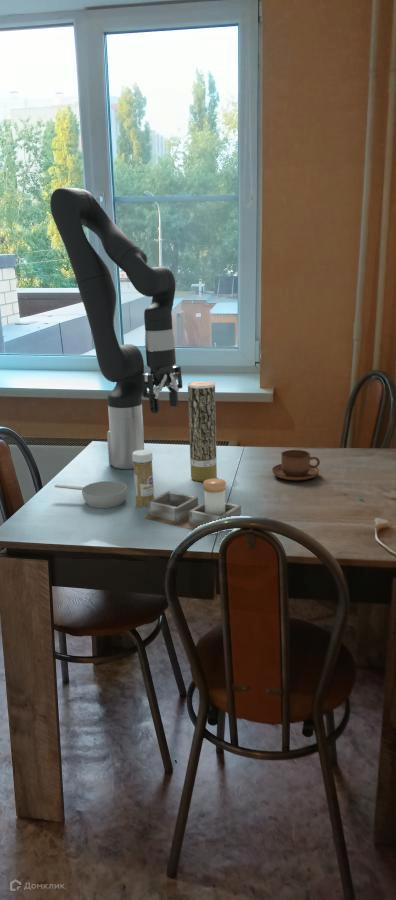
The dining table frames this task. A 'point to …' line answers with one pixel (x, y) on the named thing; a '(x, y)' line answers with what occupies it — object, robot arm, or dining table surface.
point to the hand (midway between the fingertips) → (164, 409)
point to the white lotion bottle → (214, 496)
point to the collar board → (184, 511)
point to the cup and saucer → (296, 466)
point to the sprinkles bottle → (143, 477)
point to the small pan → (101, 493)
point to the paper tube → (202, 430)
